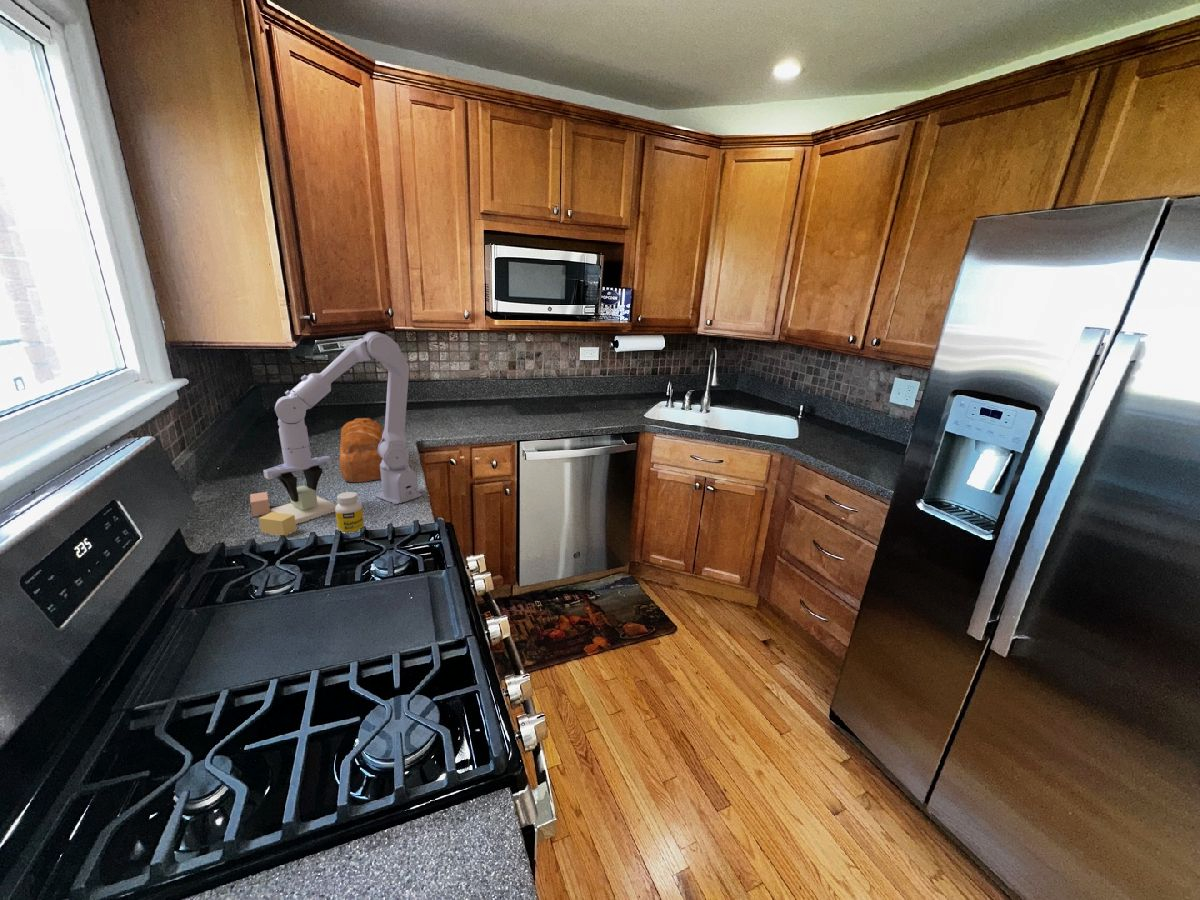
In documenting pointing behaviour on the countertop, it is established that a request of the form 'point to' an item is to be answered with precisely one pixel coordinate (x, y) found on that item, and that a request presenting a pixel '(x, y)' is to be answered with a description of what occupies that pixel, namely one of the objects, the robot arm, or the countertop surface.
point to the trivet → (306, 510)
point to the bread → (360, 450)
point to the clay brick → (259, 503)
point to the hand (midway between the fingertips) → (303, 498)
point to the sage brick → (305, 498)
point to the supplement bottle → (349, 512)
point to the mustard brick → (277, 523)
